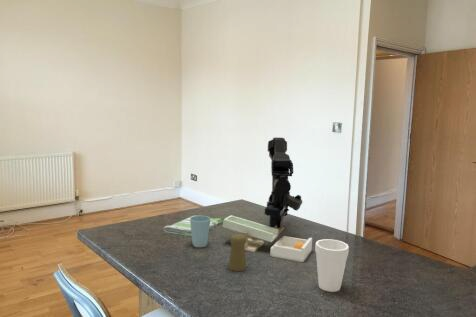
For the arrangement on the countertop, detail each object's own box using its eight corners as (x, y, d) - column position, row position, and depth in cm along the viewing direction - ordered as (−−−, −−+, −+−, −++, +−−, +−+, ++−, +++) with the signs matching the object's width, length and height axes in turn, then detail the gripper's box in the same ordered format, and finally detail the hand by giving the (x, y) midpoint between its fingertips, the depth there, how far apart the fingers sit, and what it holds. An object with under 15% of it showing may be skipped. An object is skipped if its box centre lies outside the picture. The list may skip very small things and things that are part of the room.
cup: (205, 240, 150) (205, 214, 149) (213, 246, 144) (214, 219, 142) (186, 243, 146) (187, 216, 145) (194, 249, 140) (195, 222, 138)
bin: (280, 245, 147) (281, 232, 146) (311, 250, 142) (312, 237, 141) (270, 256, 136) (270, 242, 135) (303, 262, 131) (304, 248, 130)
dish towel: (162, 232, 160) (161, 224, 159) (191, 218, 180) (191, 211, 180) (197, 239, 153) (197, 230, 152) (223, 224, 173) (223, 216, 173)
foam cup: (339, 297, 107) (342, 253, 105) (308, 288, 112) (311, 246, 110) (349, 284, 115) (352, 243, 113) (320, 276, 120) (322, 237, 118)
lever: (239, 216, 160) (240, 209, 160) (284, 229, 153) (286, 222, 152) (222, 226, 146) (223, 219, 145) (271, 242, 138) (272, 234, 137)
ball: (293, 242, 140) (303, 238, 138) (298, 252, 140) (308, 248, 138) (290, 246, 136) (300, 242, 135) (295, 256, 136) (305, 252, 134)
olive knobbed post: (248, 265, 128) (249, 233, 126) (243, 272, 122) (244, 239, 120) (231, 262, 129) (232, 231, 128) (225, 269, 124) (226, 236, 122)
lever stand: (245, 239, 152) (245, 223, 151) (264, 243, 149) (264, 226, 148) (234, 248, 142) (234, 231, 141) (254, 252, 139) (254, 234, 138)
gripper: (293, 196, 137) (292, 237, 139) (306, 186, 154) (305, 224, 156) (264, 192, 142) (263, 233, 144) (280, 183, 159) (279, 220, 161)
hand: (279, 227), depth 151 cm, fingers closed, pressing on lever
